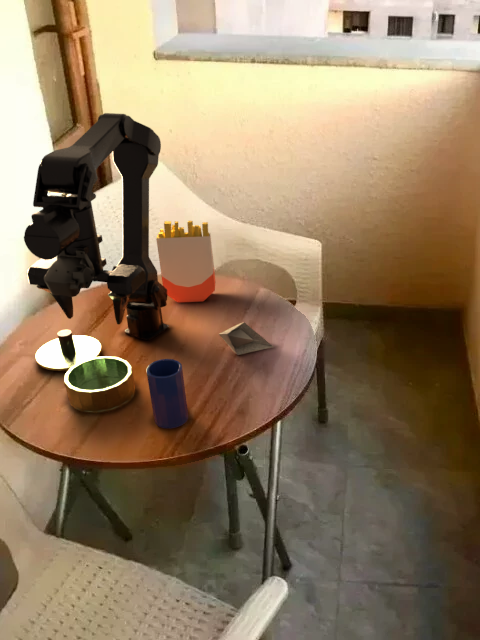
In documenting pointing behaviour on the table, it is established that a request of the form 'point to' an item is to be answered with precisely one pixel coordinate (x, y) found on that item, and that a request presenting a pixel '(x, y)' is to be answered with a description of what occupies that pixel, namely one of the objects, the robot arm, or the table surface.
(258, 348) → the paper boat
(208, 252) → the french fries container
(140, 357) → the table surface
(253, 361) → the table surface
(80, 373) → the pot
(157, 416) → the cup
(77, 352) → the lid
